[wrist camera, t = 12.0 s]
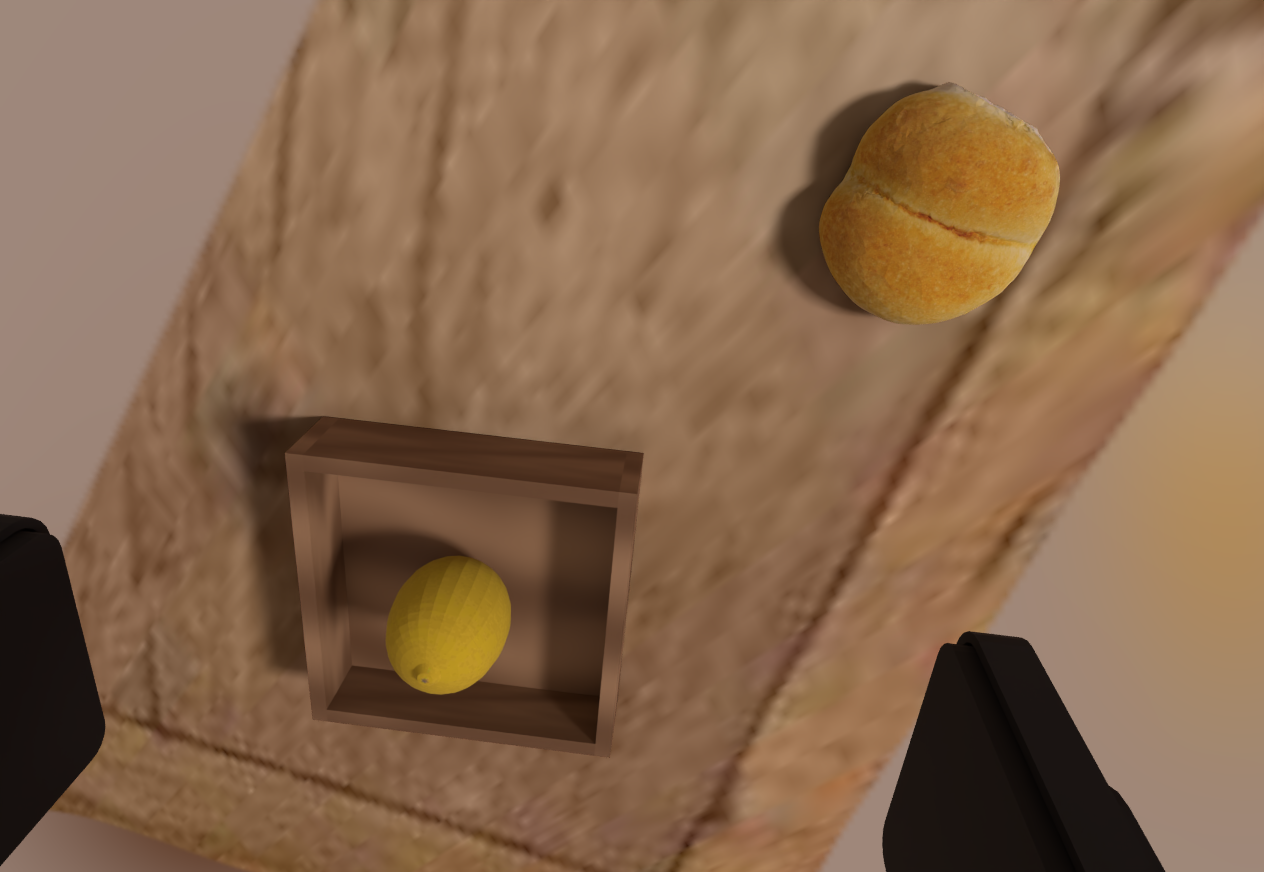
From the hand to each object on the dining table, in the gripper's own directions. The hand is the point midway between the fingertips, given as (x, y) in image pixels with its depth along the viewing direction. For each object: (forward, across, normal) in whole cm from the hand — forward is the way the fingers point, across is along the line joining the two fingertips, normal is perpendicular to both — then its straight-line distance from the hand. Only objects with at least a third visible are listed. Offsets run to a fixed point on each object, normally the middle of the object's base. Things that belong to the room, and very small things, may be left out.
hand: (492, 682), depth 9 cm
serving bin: (+28, +7, +19) cm, 35 cm away
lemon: (+28, +7, +19) cm, 34 cm away
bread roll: (+29, -11, -2) cm, 31 cm away
